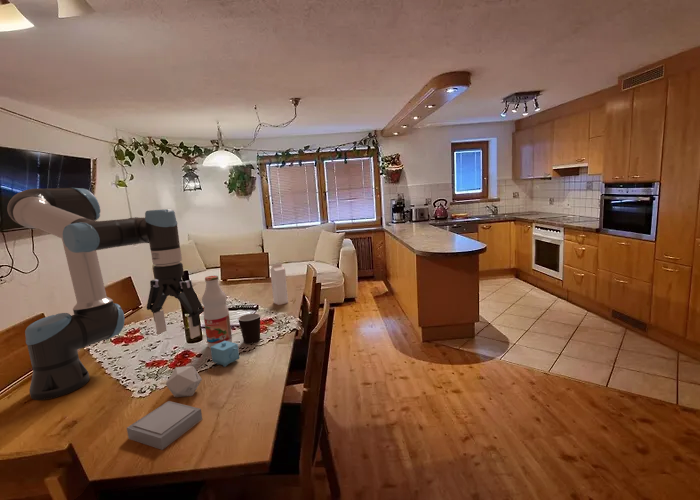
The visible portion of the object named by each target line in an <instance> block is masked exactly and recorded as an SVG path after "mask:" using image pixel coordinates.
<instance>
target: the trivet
mask: <svg viewBox="0 0 700 500" xmlns="http://www.w3.org/2000/svg"><path fill="white" fill-rule="evenodd" d="M202 420H203V415H202V409H201V408H200V407H194V406H192V405H188V404H187V405H186V404H184V403H178V402H174V401H171V400H168V401H166V402H164V403H163V404H161V405H160V406H158V407H157V408H155V409H154V410H152V411H150V412H149V413H148V414H146V415H144V416H143V417H141V418H140V419H138V420H136V421H135V422H133V423H132V424H130V425H129V426H126V432H127V437H128V440H131V441H134V442H138V443H141V444H143V445H145V446H149V447H152V448H155V449H158V450H161V451H164V449H166V448H167V447H168V446H169V445H171V444H172V443H174V442H175V441H176V440H177V439H179V438H180V437H182V436H183V435H184V434H185V433H187V432H188V431H189V430H190V429H192V428H193V427H194V426H195V425H197V424H199V422H201V421H202Z"/></svg>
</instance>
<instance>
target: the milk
mask: <svg viewBox="0 0 700 500" xmlns="http://www.w3.org/2000/svg"><path fill="white" fill-rule="evenodd" d="M269 271H270V272H269V273H270V279H271V282H270V283H271V290H272V298H273V304H275V305H277V306H281V305H284V304H288V303H289V296H288V295H289V294H288V287H287V285H288V284H287V275H286V269H285V267H284V266H283V262H278V263H273V264H271V268H270V270H269Z"/></svg>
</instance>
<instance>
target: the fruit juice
mask: <svg viewBox="0 0 700 500" xmlns="http://www.w3.org/2000/svg"><path fill="white" fill-rule="evenodd" d="M204 281H205V283H206V285H205V290H204V292H203V294H202V297H201V302H202V303H201V304H202V306H203V309H204V311H203V312H202V314H203V321H204V327H205V328H204V329H205V334H206V335H205V336H206V342H207V347H208V348H209V349H211V347H212V346H214V345H216V344H218V343H221V342H223V341H229V342H232V343H233V337H232V336H233V335H232V328H231V321H230V312H229V307H228V305H227V293H226V292H225V291H223V289H222V288H221V286H220V283H219V275H214V274H213V275H209V276H205V278H204Z"/></svg>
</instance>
